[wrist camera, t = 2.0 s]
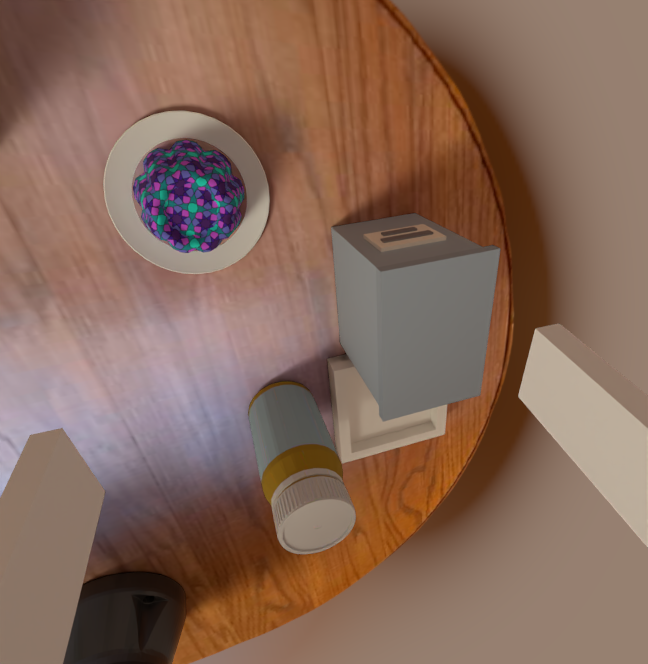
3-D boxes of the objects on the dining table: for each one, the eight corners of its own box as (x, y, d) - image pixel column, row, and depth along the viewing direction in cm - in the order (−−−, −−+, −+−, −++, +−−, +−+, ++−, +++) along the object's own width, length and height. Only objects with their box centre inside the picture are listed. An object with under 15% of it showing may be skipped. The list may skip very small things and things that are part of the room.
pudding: (105, 89, 28) (90, 87, 23) (280, 132, 32) (295, 137, 27) (104, 260, 33) (92, 286, 28) (255, 278, 37) (265, 302, 33)
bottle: (236, 422, 44) (256, 554, 31) (265, 369, 41) (299, 488, 29) (294, 436, 47) (333, 561, 34) (324, 387, 45) (377, 501, 32)
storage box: (414, 328, 44) (480, 395, 34) (337, 346, 42) (383, 421, 33) (418, 207, 38) (500, 246, 28) (327, 222, 36) (380, 269, 26)
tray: (434, 421, 52) (444, 434, 50) (335, 448, 49) (342, 463, 47) (441, 332, 45) (452, 342, 43) (327, 358, 43) (333, 371, 41)
